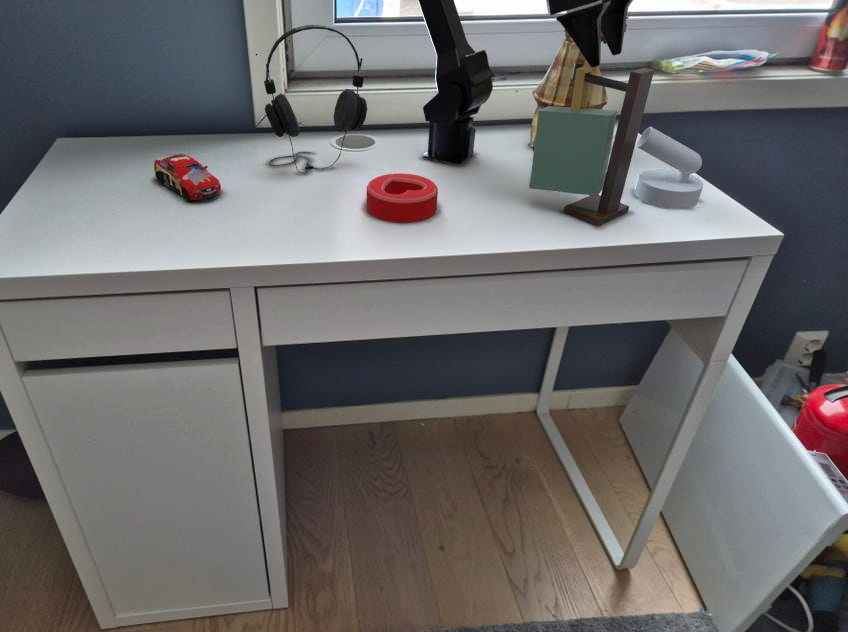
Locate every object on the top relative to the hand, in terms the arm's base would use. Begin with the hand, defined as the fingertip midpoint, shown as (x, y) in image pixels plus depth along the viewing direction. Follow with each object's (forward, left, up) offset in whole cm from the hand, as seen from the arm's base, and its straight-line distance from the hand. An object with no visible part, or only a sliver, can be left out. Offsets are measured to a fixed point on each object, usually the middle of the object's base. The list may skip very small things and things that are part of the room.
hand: (606, 60), depth 85 cm
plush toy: (-8, +20, -18) cm, 28 cm away
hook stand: (+2, -7, -18) cm, 19 cm away
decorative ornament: (-20, -19, -18) cm, 33 cm away
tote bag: (0, -8, -15) cm, 17 cm away
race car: (-50, -28, -18) cm, 60 cm away
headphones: (-39, -11, -18) cm, 44 cm away
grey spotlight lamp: (+11, +3, -18) cm, 21 cm away
